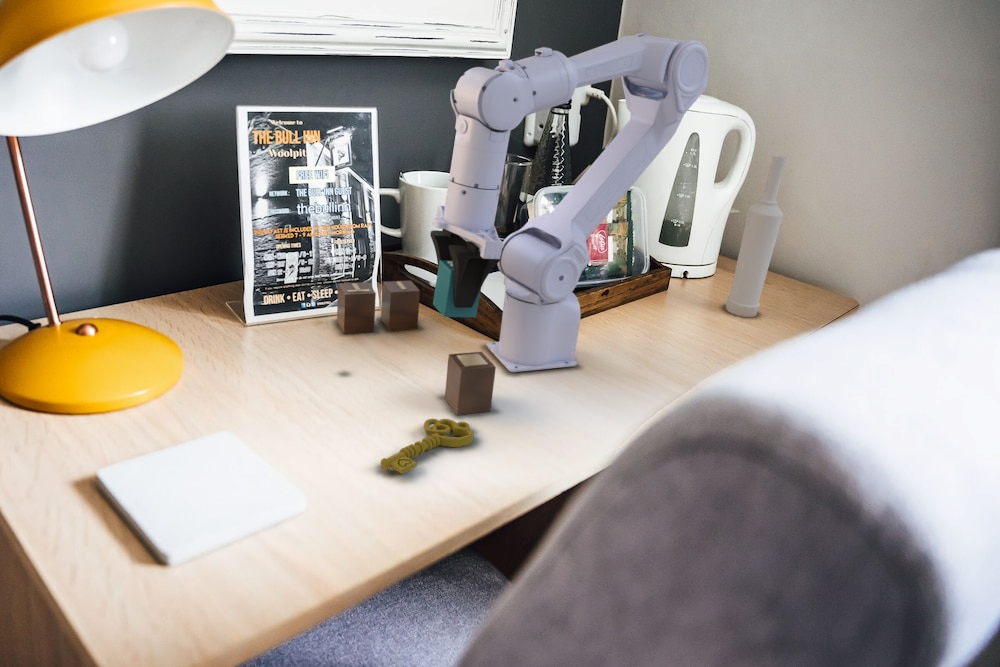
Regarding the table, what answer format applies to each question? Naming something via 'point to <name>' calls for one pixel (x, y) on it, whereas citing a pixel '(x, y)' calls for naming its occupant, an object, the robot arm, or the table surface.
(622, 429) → the table surface
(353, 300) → the tile
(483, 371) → the brown tall block
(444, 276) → the teal rectangular block
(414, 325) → the tile
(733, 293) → the bottle
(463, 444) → the key
